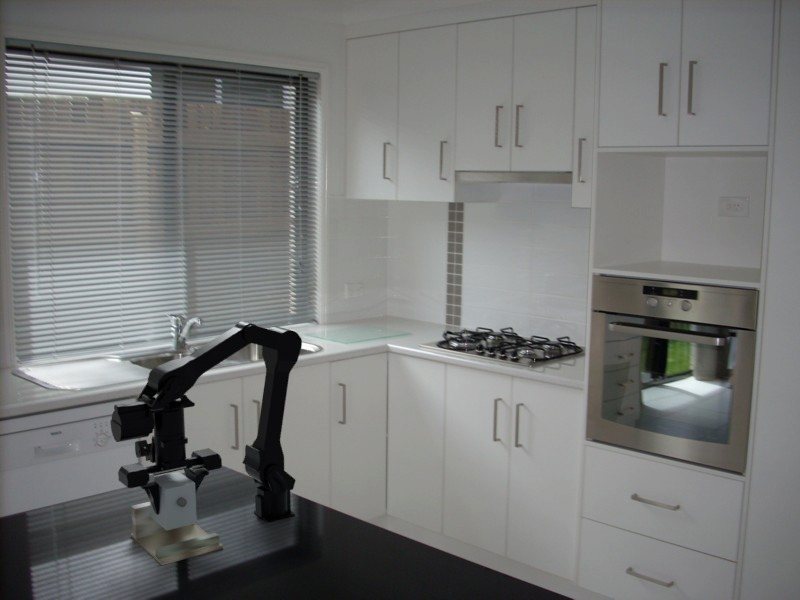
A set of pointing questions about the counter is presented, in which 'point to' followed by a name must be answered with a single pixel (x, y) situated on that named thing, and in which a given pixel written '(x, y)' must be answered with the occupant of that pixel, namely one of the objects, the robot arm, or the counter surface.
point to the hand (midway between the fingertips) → (173, 510)
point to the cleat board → (170, 537)
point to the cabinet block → (175, 501)
